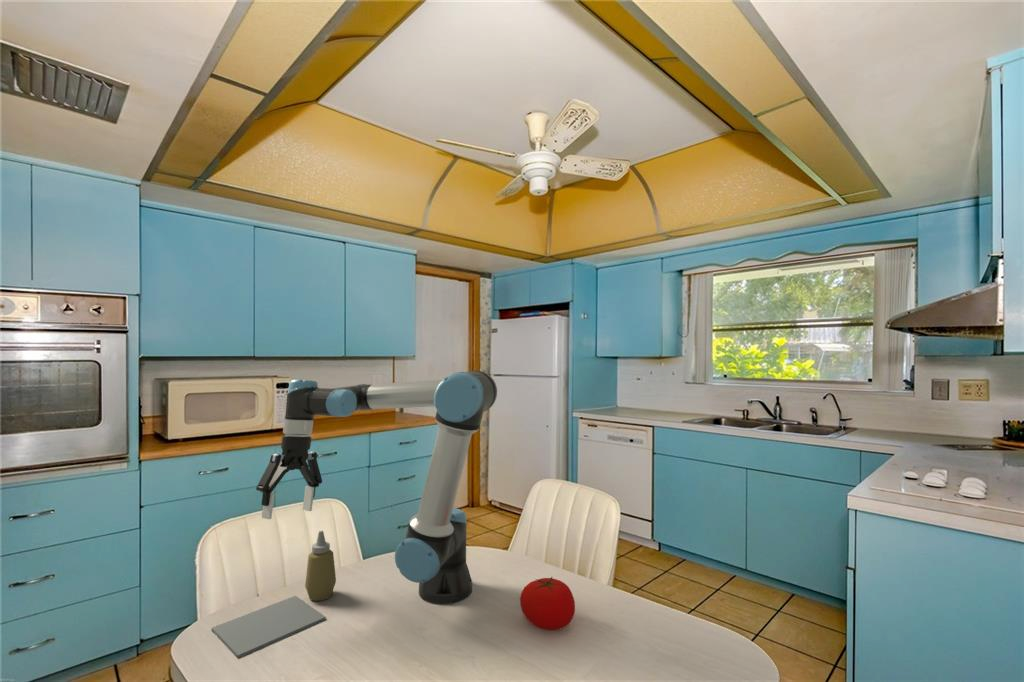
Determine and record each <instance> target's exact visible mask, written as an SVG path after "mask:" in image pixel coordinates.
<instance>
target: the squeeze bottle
mask: <svg viewBox="0 0 1024 682" xmlns="http://www.w3.org/2000/svg"><path fill="white" fill-rule="evenodd" d="M330 544H331V543H330V542H329V541H326V538H325V533H324V530H319V531H318V533H317V539H316V542H315V543H314V544H312V546H311V552H310V553H309V554H308V558H307V567H306V575H305V576H306V577H305V584H304V586H305V589H306V592H307V595H308V598H309V599H310V601H313V602H314V601H315V602H319V601H325V600H327V599H329V598H330V597H331V596H333V592H334V590H335V589H334V588H335V585H336V583H337V577H336V565H335V557H334V556H335V555H334V552H333V550H331V545H330Z"/></svg>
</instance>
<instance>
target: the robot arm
mask: <svg viewBox="0 0 1024 682" xmlns="http://www.w3.org/2000/svg"><path fill="white" fill-rule="evenodd" d="M318 385H319V383H318V382H317V381H316V380H309V379H296V378H295V379H292V380H290V382H289V384H288V388H287V389H288V391H287V393H286V405H285V415H284V422H283V428H282V433H283V434H284V435H283V436H281V443H280V444H281V445H280V449H281V450H282V451H281V454H279V453H272V454H271V456H270V460H269V463H268V464H267V467H266V468H265V469H264V470H265V471H264V473H263V474H262V476H261V478H260V479H259V482H258V484H257V486H256V488H255V489H256V491H259V492H260V493H262V497H261V506H262V511H261V512H262V513H261V518H262V519H265V520H272V517H273V510H274V509H273V508H274V500H275V492H273V491H274V490H275V489H276V487H277V486H278V484H279V483H280V482H281V481H282V479H283V478H284V476H285V475H286V473H288V472H289V471H294V470H299V472H300V474H301V475H302V476H303V478H304V480H305V483H306V484H307V485H306V486H305V487H304V494H303V503H302V510H303V511H307V512H312V510H313V501H314V498H315V496H316V489H317V488H318V487H320V485H321V484H322V483H323V479H322V476H321V471H320V467H319V464H318V455H317V454H318V453H317V452H316V451H309V450H310V449H311V445H312V437H311V435H312V434H313V428H314V427H313V426H314V420H315V419H314V418H315V416H327V417H328V416H329V417H335V418H340V417H341V418H345V417H346V418H347V417H350V416H351V415H352V414H353V413H354V412H358V411H372V410H384V409H385V410H388V409H407V408H409V409H413V408H428V407H429V408H430V407H431V408H432V407H435V410H436V413H435V418H434V420H435V422H436V424H437V426H438V430H437V435H436V438H435V442H434V447H433V451H432V452H431V453H432V455H431V458H430V462H429V466H428V469H427V470H428V471H427V474H426V479H425V482H424V486H423V490H422V494H421V498H420V503H419V507H418V510H417V513H416V514H414V515H413V516H411V517H410V519H409V520H408V521H409V522H408V526H407V530H406V534H405V537H404V538H403V539H402V540H401V541H400V542H399V544H397V547H396V549H395V551H394V552H395V553H394V563H395V565H396V567H397V569H398V571H399V572H400V574H401V575H402V576H403V577H404V578H405V579H406V580H408V581H410V582H413V583H417V584H418V594H419V597H420V599H422V600H424V601H425V602H427V603H431V604H437V605H448V604H453V603H457V602H460V601H463V600H465V599H467V598H468V597H469V596H470V595H471V594H472V592H473V580H472V577H471V574H470V570H469V567H468V564H467V523H468V522H467V515H466V512H465V511H464V510H462V509H460V508H454V506H455V502H456V498H457V494H458V492H459V491H458V489H459V486H460V482H461V479H462V474H463V470H464V466H465V463H466V459H467V454H468V450H469V448H470V447H469V446H470V444H471V438H472V436H473V434H475V433H476V432H478V431H479V430H480V427H481V424H482V420H483V416H484V413H485V412H486V411H488V410H490V409H491V408H492V407H493V405H494V404H495V402H496V400H497V397H498V387H497V384H496V381H495V380H494V379H493V377H492V376H491V375H489V374H488V373H487V372H484V371H482V370H470V371H458V372H454V373H451V374H450V375H447V376H446V377H444V378H443V379H433V380H416V381H401V382H399V381H398V382H388V383H386V382H385V383H373V384H367V383H361V384H357V385H351V386H343V387H335V388H329V387H327V388H324V387H323V388H321V387H319V386H318Z"/></svg>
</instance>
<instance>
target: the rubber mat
mask: <svg viewBox="0 0 1024 682" xmlns="http://www.w3.org/2000/svg"><path fill="white" fill-rule="evenodd" d="M324 619H325V620H327V616H325V615H324V614H322V612H319V611H318V610H317V609H315V608H314V607H313V606H311V605H309V604H308V603H307V602H305V601H304V600H303V599H301V598H300V597H298V596H297V595H294V596H290V597H288V598H285V599H283V600H280V601H278V602H275V603H272V604H270V605H268V606H265V607H262V608H260V609H258V610H254V611H252V612H249V613H247V614H244V615H241V616H239V617H236V618H233V619H231V620H228V621H227V622H226V621H225V622H223V623H221V624H218V625H216V626H212V627H211V631H212V633H213V634H214V635H215V634H216V635H217V636H216V635H215V636H216V637H217V638H218V639H219V640H220V641H221V642H222V643H223V644H224V645H225V646H226V647H227V649H229V650H230V652H231V653H232V654H233V655H234V656H235V657H236V658H237V659H238V658H242V657H244V656H245V655H248V654H249V653H252V652H255V651H257V650H259V649H261V648H264V647H266V646H268V645H271V644H273V643H275V642H277V640H278V641H280V640H282V639H284V638H286V637H288V635H289V636H290V635H293V634H295V633H298V632H299V631H302V630H305V629H307V628H310V627H312V626H314V625H316V624H317V622H318V623H320V621H321V622H323V621H325V620H324ZM279 639H280V640H279Z"/></svg>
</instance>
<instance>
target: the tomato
mask: <svg viewBox="0 0 1024 682" xmlns="http://www.w3.org/2000/svg"><path fill="white" fill-rule="evenodd" d="M519 602H520V603H519V604H520V609H521V612H522V613H523V615H524V617H525V618H526V620H527V621H528V622H529V623H530V624H532V625H533V626H535V627H536V628H538V629H542V630H544V631H557V630H558V631H559V630H562V629H564V628H565V627H567V626H568V625H569V624H570V623H571V622H572V620H573V618H574V616H575V613H576V602H575V598H574V595H573V593H572V591H571V588H570V587H569V586H568V585H567V584H566V583H565V582H564V581H562V580H559V579H556V578H553V576H551V577H544V578H539V579H538V578H535V579H534V580H533V581H530V582H529V583H528V584H527V585H525V586H524V588H523V589H522V591H521V594H520V597H519Z"/></svg>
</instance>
